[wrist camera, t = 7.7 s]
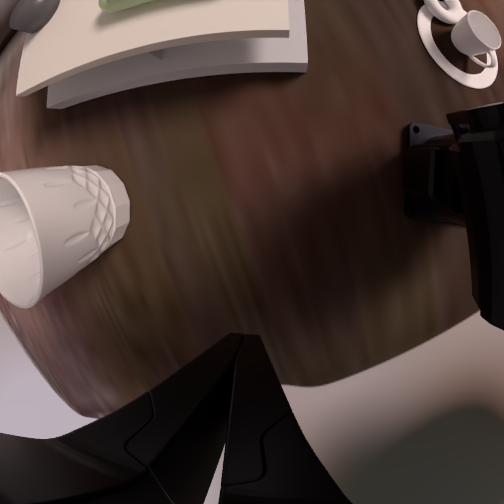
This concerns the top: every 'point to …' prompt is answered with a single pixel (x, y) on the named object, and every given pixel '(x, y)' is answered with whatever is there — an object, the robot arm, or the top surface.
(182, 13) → the instrument plate
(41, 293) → the white cup
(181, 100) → the top surface
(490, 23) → the teacup and saucer
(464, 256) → the top surface
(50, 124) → the top surface
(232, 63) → the instrument base
